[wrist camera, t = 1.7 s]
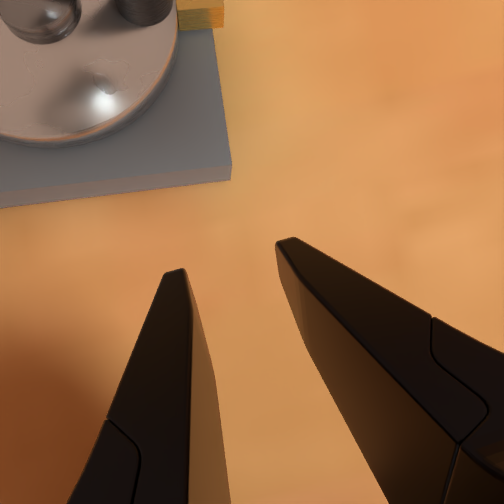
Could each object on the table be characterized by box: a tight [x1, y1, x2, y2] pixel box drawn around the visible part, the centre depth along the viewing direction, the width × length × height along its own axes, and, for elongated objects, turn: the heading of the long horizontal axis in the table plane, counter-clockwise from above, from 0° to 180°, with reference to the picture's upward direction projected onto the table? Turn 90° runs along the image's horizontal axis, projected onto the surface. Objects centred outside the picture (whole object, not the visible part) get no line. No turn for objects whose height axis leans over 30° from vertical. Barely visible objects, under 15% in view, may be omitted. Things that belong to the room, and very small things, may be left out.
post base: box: [0, 22, 232, 208], centre depth 20 cm, size 14×14×6 cm
